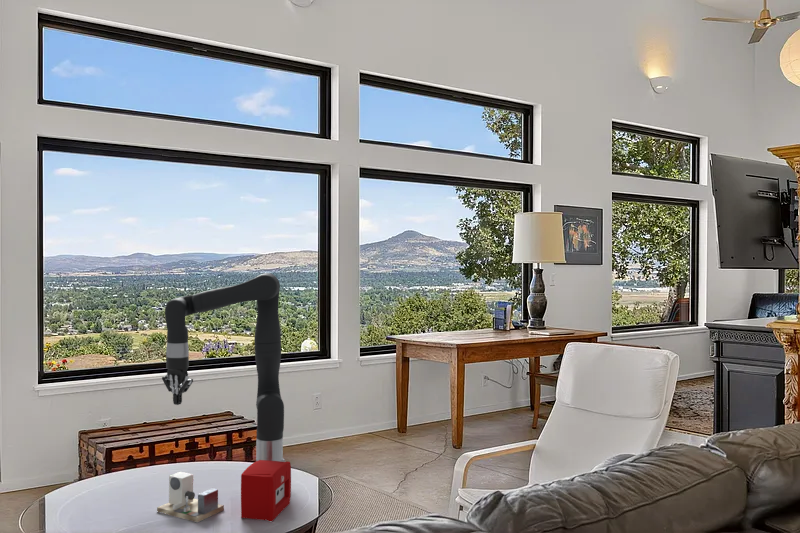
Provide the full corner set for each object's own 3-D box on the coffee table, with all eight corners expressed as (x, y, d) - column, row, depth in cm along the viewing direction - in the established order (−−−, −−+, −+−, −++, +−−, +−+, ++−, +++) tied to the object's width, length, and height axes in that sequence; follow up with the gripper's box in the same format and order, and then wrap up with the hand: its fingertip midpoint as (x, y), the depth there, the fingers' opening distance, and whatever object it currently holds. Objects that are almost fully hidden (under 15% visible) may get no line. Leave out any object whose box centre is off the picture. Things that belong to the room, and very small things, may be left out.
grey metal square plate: (197, 513, 234) (197, 494, 234) (211, 506, 240) (212, 488, 239) (203, 514, 233) (204, 495, 233) (217, 508, 238) (218, 489, 238)
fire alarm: (273, 522, 232) (273, 474, 231) (240, 519, 234) (240, 471, 233) (291, 503, 248) (291, 459, 247) (260, 501, 250) (260, 456, 249)
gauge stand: (157, 512, 238) (157, 506, 238) (184, 500, 249) (184, 495, 249) (197, 522, 230) (197, 516, 230) (223, 509, 241) (223, 504, 241)
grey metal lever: (183, 511, 234) (183, 497, 233) (187, 509, 235) (187, 495, 235) (186, 512, 233) (186, 497, 233) (190, 510, 235) (190, 495, 235)
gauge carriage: (161, 506, 238) (161, 478, 237) (180, 498, 245) (180, 471, 245) (179, 510, 234) (179, 482, 234) (197, 502, 241) (197, 475, 241)
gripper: (199, 355, 261) (199, 404, 262) (171, 352, 268) (171, 400, 268) (184, 358, 255) (183, 408, 256) (155, 354, 261) (155, 404, 262)
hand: (177, 404), depth 262 cm, fingers closed
